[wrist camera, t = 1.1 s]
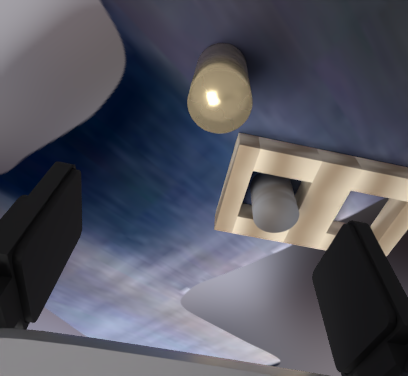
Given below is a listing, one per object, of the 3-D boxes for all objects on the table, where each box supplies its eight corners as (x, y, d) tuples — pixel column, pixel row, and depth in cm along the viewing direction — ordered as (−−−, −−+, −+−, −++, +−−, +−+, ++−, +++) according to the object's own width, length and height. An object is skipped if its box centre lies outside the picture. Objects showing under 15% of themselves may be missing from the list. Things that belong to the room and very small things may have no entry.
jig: (428, 171, 33) (456, 202, 29) (374, 245, 40) (391, 278, 36) (238, 132, 32) (240, 158, 28) (215, 215, 38) (213, 246, 34)
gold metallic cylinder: (252, 49, 27) (260, 79, 21) (239, 98, 30) (242, 138, 23) (201, 37, 27) (193, 64, 21) (192, 88, 30) (182, 126, 23)
